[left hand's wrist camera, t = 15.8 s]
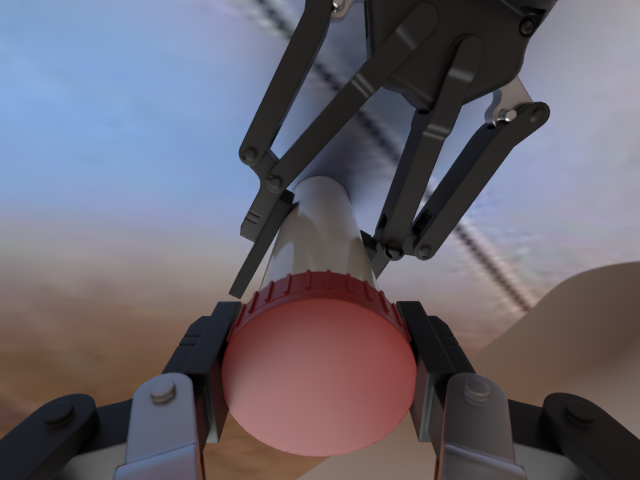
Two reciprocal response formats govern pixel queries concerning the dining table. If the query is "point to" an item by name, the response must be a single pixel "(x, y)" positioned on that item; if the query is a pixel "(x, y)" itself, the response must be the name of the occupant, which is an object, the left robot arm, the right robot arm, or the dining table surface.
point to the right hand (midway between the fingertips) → (278, 303)
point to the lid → (319, 365)
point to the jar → (319, 235)
